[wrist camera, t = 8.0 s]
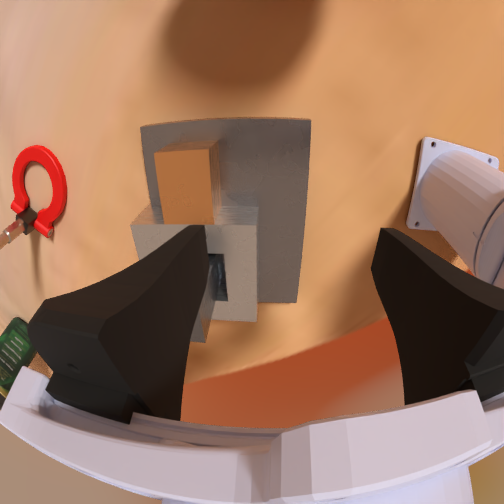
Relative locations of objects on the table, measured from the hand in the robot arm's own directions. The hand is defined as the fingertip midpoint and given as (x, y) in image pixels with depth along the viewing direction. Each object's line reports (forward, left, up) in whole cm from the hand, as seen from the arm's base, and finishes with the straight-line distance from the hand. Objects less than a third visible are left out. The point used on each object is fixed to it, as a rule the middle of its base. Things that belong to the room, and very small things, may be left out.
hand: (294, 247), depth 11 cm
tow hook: (+24, 0, -11) cm, 27 cm away
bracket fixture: (+4, +4, -10) cm, 12 cm away
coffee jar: (+46, +27, -11) cm, 55 cm away
